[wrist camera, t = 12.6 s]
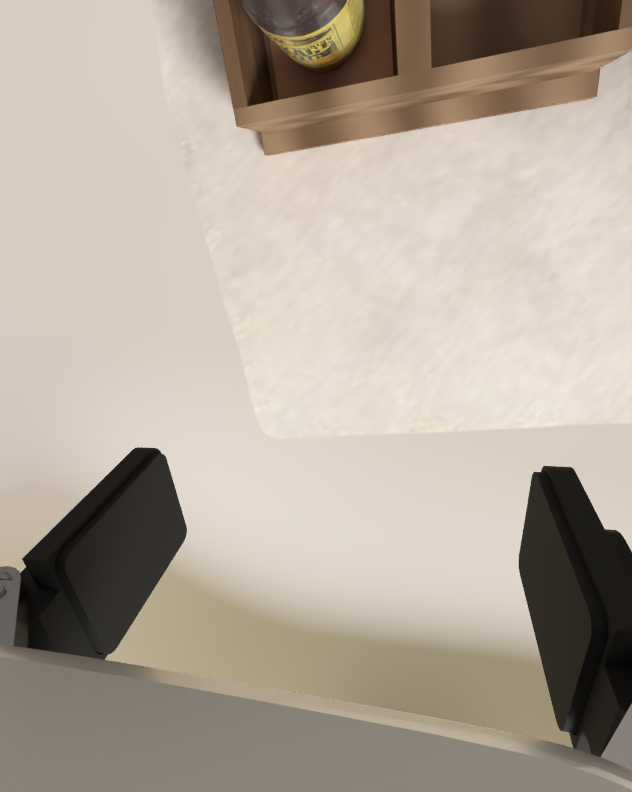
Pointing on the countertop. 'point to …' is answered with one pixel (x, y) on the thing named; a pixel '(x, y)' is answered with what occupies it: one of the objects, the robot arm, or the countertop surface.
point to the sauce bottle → (311, 29)
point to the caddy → (422, 67)
